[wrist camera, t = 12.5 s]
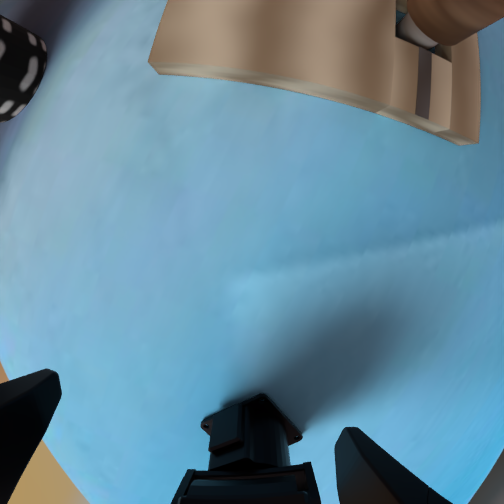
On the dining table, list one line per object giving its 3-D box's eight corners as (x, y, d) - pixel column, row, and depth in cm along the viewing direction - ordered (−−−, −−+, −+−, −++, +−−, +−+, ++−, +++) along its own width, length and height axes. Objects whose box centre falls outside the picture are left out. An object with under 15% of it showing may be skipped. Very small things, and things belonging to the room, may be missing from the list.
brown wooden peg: (443, 54, 17) (533, 5, 6) (409, 71, 17) (504, 12, 6) (410, 10, 16) (483, -58, 5) (373, 23, 16) (443, -59, 6)
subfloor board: (456, 0, 15) (470, -11, 13) (458, 145, 18) (479, 143, 16) (209, -67, 14) (206, -85, 12) (159, 74, 18) (147, 61, 15)
